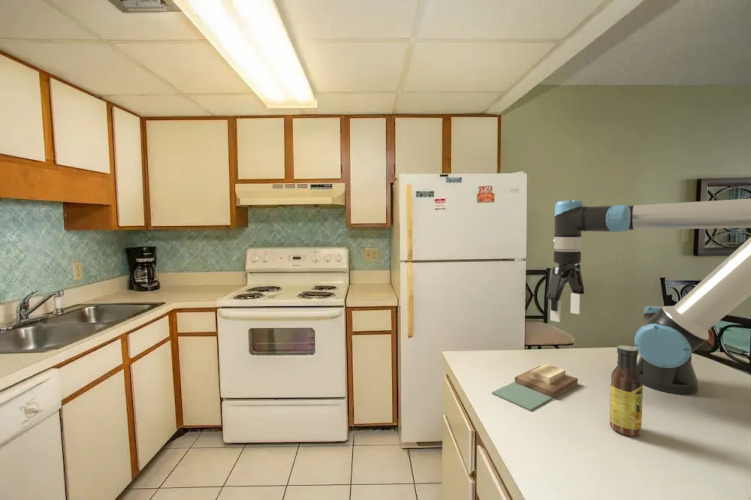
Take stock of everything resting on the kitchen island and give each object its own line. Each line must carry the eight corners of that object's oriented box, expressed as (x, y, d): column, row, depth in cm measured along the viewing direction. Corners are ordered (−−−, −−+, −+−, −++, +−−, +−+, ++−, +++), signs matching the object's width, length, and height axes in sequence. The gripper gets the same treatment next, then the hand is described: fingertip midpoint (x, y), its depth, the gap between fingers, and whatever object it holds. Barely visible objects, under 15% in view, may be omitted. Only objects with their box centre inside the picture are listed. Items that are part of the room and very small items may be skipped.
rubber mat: (551, 399, 101) (552, 397, 101) (530, 411, 95) (530, 409, 95) (513, 383, 111) (513, 382, 111) (492, 393, 105) (492, 392, 105)
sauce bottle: (642, 440, 82) (646, 355, 80) (609, 432, 85) (612, 350, 83) (639, 426, 87) (643, 346, 86) (608, 419, 91) (611, 341, 89)
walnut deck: (577, 384, 109) (577, 378, 109) (552, 398, 101) (553, 391, 101) (539, 371, 119) (540, 365, 119) (514, 383, 111) (514, 377, 111)
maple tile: (565, 376, 111) (565, 370, 111) (549, 384, 106) (549, 377, 105) (546, 369, 116) (546, 363, 116) (530, 377, 111) (530, 371, 110)
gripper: (572, 247, 124) (571, 308, 126) (535, 252, 109) (533, 321, 110) (596, 248, 118) (594, 312, 120) (560, 253, 103) (558, 327, 104)
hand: (565, 317), depth 115 cm, fingers open, 13 cm apart
